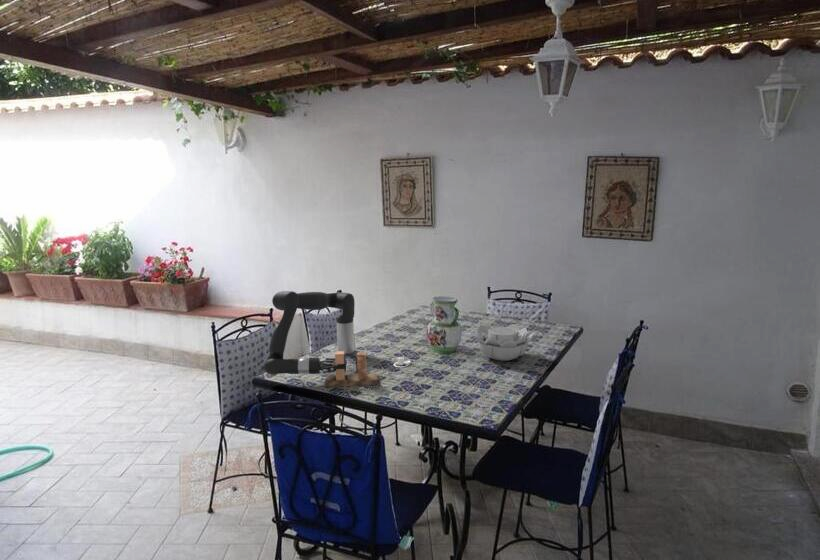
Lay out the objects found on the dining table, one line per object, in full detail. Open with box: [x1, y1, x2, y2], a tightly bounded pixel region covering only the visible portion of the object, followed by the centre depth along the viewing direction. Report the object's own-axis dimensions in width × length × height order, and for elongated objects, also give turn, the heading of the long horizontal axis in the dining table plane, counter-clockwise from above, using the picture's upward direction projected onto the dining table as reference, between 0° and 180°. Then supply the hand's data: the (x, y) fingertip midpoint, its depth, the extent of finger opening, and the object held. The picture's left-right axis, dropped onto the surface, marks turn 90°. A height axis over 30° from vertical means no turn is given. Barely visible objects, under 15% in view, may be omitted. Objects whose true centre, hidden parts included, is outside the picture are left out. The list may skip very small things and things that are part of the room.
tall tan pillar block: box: [334, 350, 347, 380], centre depth 241 cm, size 5×4×14 cm
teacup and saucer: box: [393, 356, 412, 368], centre depth 266 cm, size 9×8×4 cm
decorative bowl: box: [474, 323, 535, 362], centre depth 273 cm, size 30×30×15 cm
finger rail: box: [324, 351, 379, 388], centre depth 242 cm, size 24×8×14 cm, turn 93°
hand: (346, 364), depth 241 cm, fingers closed on tall tan pillar block, 4 cm apart
